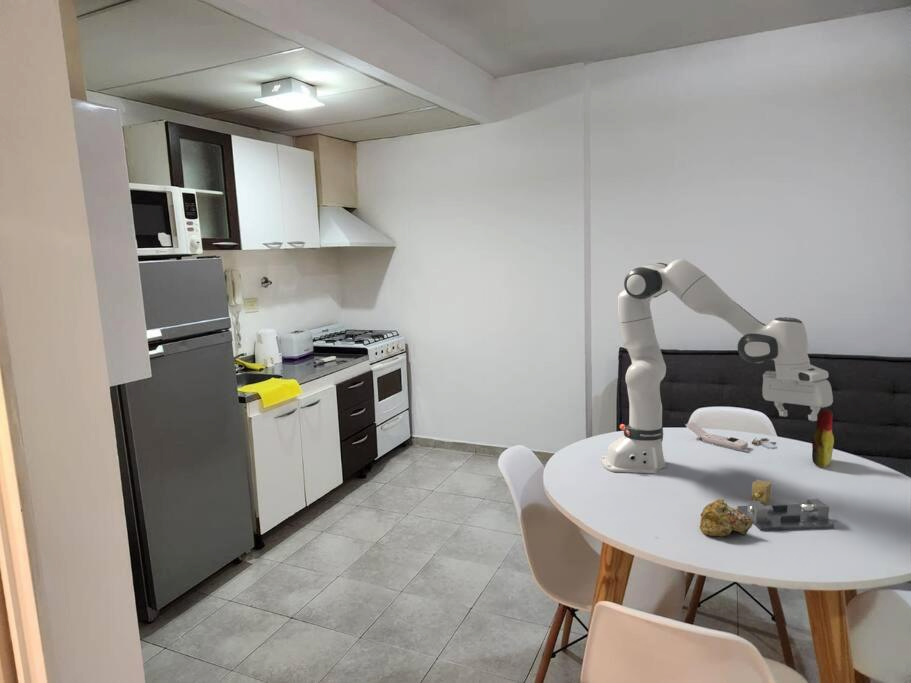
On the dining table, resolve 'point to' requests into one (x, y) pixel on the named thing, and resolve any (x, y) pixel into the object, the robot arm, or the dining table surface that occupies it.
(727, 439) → the mobile phone
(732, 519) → the rock
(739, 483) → the dining table surface
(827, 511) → the dark grey baseplate
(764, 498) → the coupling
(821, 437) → the red yellow oblong piece
